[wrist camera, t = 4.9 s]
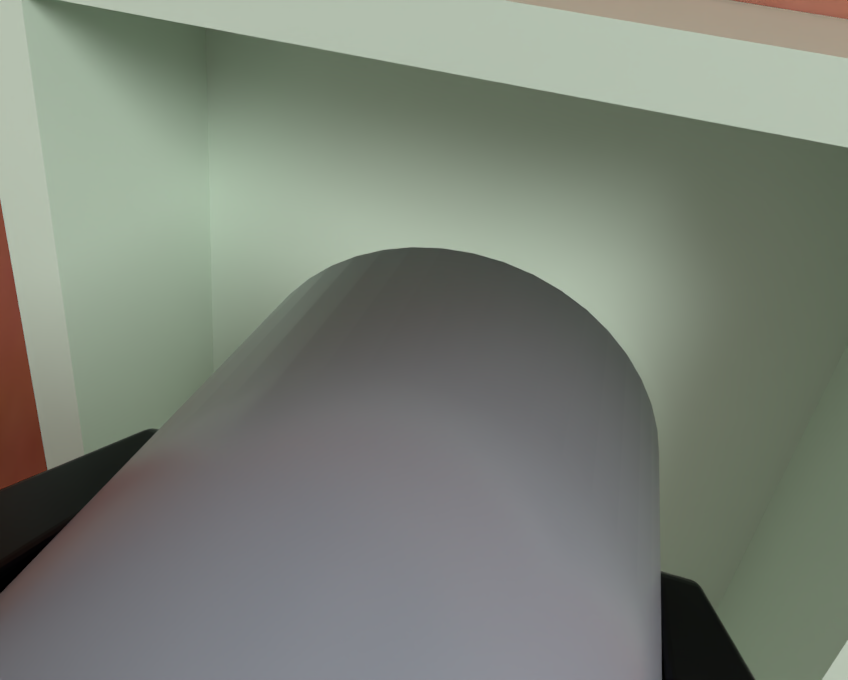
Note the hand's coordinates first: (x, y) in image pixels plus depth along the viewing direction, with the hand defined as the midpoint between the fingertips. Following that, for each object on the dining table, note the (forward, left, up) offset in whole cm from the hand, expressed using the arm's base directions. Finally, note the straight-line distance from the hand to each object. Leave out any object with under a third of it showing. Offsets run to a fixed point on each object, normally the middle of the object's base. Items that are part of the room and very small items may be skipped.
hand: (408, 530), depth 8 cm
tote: (0, +4, -8) cm, 9 cm away
